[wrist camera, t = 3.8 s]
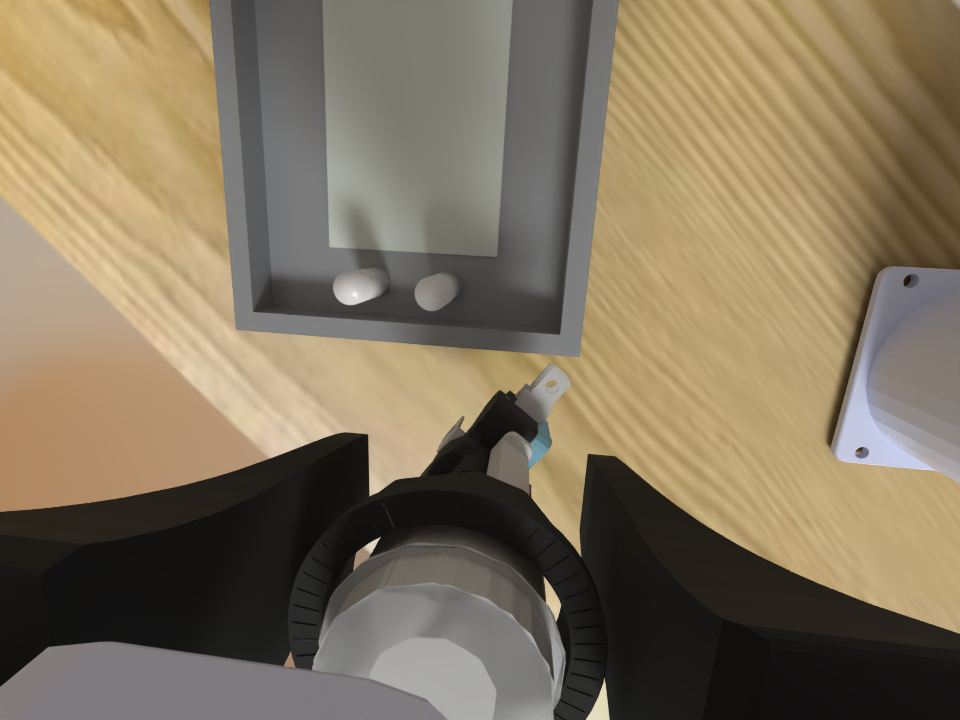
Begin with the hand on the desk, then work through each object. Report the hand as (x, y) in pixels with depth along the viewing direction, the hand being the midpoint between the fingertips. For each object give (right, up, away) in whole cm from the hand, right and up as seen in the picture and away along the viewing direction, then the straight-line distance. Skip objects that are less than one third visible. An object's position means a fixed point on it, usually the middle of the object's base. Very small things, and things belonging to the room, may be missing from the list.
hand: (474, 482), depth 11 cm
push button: (+1, 0, +5) cm, 6 cm away
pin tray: (-2, +12, +8) cm, 14 cm away
